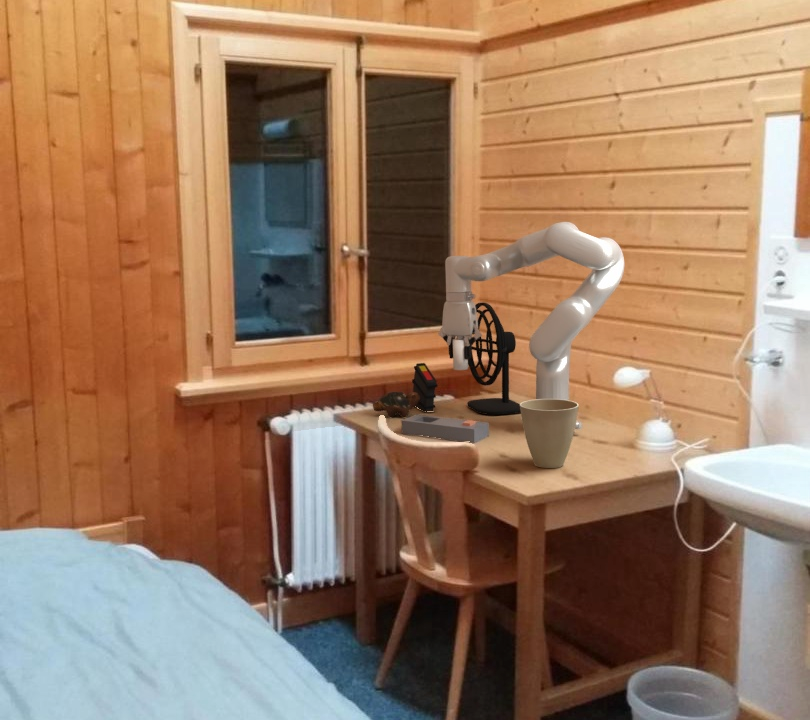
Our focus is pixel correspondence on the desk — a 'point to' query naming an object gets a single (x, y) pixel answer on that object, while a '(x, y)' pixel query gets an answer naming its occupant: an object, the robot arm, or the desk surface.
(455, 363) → the white bottle
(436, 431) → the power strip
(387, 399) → the decorative turtle
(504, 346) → the desk fan
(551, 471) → the desk surface
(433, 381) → the black blocky piece
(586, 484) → the desk surface
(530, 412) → the plant pot
